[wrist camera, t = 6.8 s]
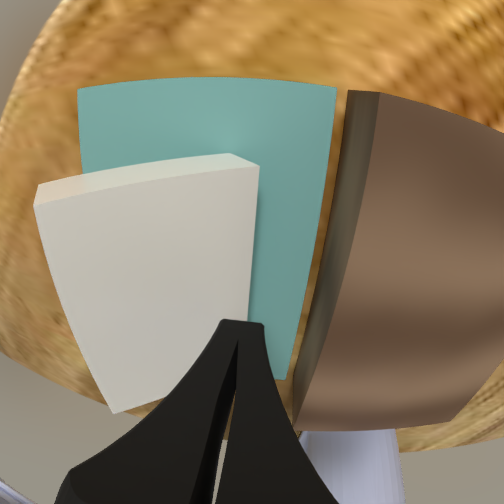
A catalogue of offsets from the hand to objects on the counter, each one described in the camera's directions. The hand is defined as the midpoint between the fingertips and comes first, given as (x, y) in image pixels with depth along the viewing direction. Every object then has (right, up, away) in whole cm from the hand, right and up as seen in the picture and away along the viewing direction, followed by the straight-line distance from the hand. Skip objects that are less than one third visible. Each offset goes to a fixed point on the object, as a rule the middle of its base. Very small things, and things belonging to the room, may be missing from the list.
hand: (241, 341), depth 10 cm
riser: (+9, +2, +4) cm, 10 cm away
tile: (-3, +1, +1) cm, 3 cm away
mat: (-2, +3, +4) cm, 6 cm away
